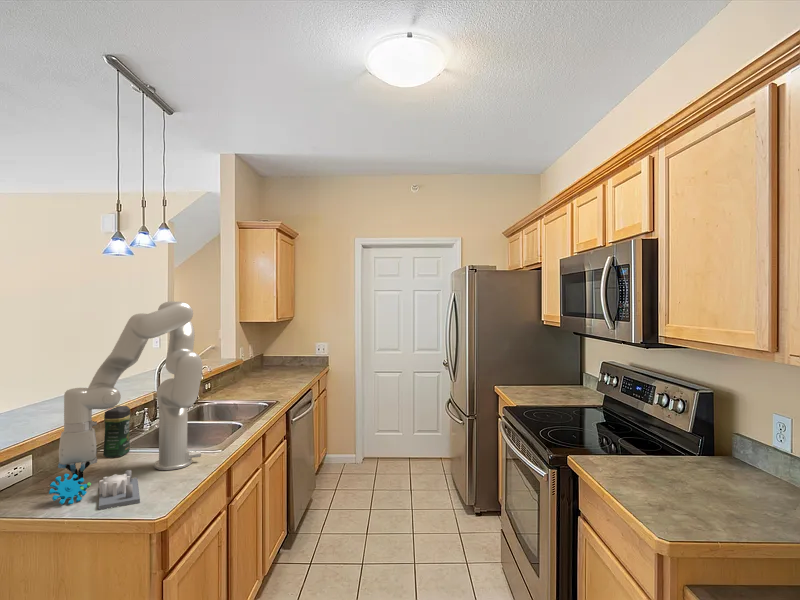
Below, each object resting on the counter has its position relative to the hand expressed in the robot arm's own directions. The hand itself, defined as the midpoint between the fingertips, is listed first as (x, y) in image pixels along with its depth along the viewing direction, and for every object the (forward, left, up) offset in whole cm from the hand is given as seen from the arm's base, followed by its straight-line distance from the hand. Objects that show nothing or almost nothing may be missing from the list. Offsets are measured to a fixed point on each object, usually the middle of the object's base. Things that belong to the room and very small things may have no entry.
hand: (77, 483), depth 160 cm
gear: (+1, +12, -2) cm, 12 cm away
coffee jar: (-11, -32, -1) cm, 34 cm away
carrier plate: (-12, +13, -1) cm, 18 cm away
